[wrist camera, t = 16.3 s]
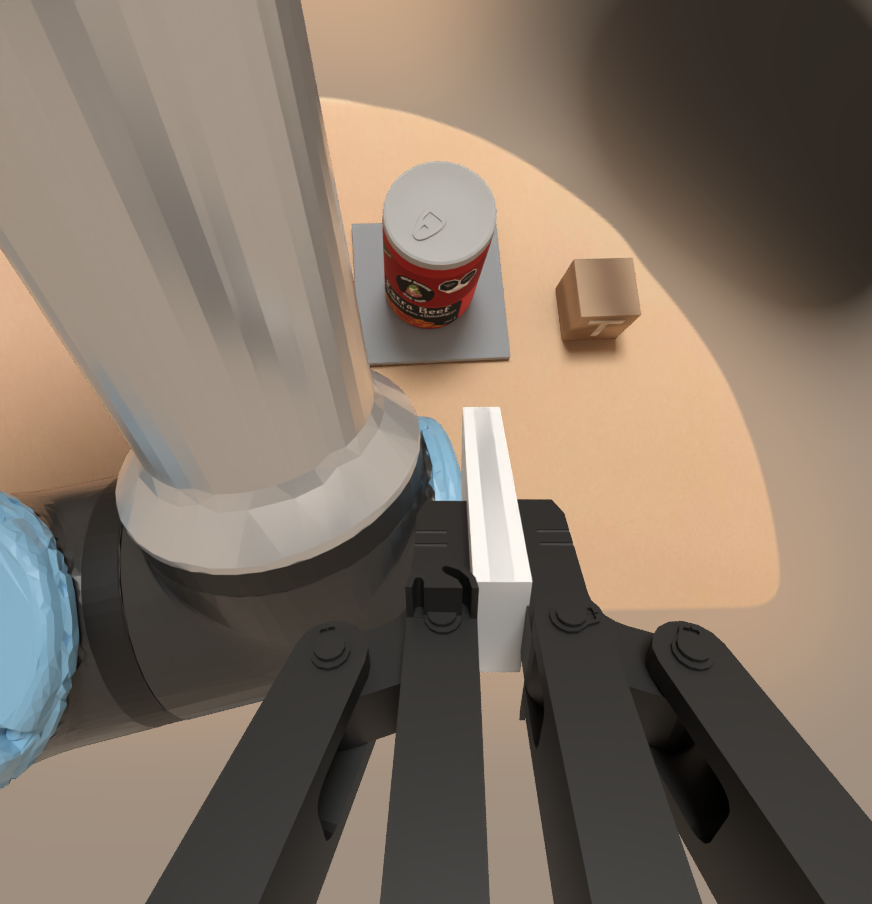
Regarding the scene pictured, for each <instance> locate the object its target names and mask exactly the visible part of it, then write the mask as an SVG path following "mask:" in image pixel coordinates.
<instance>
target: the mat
mask: <svg viewBox="0 0 872 904" xmlns="http://www.w3.org/2000/svg"><path fill="white" fill-rule="evenodd" d="M382 228H383V223H372V224H352V237H353V256H354V274H355V291H356V296H357V302H358V307H359V312H360V317H361V323H362V328H363V333H364V339H365V344H366V349H367V355H368V360H369V365H370V366H374V365H395V364H416V363H437V362H458V361H479V360H500V359H509V358H510V348H509V339H508V330H507V320H506V311H505V302H504V292H503V283H502V274H501V264H500V255H499V246H498V236H497V227H496V226H495V230H494V234H493V237H492V241H491V244H490V247H489V250H488V253H487V256H486V259H485V262H484V265H483V268H482V271H481V274H480V277H479V280H478V283H477V286H476V289H475V292H474V295H473V298H472V300H471V303H470V305H469V307H468V308H467V309H466V311H465V312H464V313H463V314H462V315H461V316H460V317H459V318H458V319H456V320H455V321H453V322H451V323H450V324H448V325H446V326H443V327H440V328H434V329H423V328H418V327H415V326H412V325H410V324H408V323H406V322H405V321H403V320H402V319H401V318H400V317H399V316H398V315H397V314H396V313H395V312H394V311H393V309H392V308H391V306H390V305H389V302H388V300H387V297H386V292H385V280H384V256H383V231H382Z"/></svg>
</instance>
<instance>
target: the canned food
mask: <svg viewBox="0 0 872 904" xmlns="http://www.w3.org/2000/svg"><path fill="white" fill-rule="evenodd" d="M496 214H497V209H496V204H495V199H494V197H493V195H492V192H491V190H490V189H489V187H488V186H487V184H486V183H485V181H484V180H483V179H482V178H481V177H479V176H478V175H477V174H476V173H475V172H473V171H471V170H470V169H468V168H466V167H464V166H462V165H459V164H455V163H451V162H443V161H435V162H427V163H423V164H420V165H417V166H415V167H413V168H411V169H409V170H407V171H406V172H404V173H403V174H402V175H401V176H399V177H398V178H397V180H396V181H395V182H394V183H393V184H392V186H391V187H390V189H389V191H388V193H387V195H386V199H385V202H384V208H383V219H382V222H383V228H382V231H383V256H384V280H385V292H386V297H387V300H388V302H389V305H390V306H391V308H392V309H393V311H394V312H395V313H396V314H397V315H398V316H399V317H400V318H401V319H402V320H403V321H405V322H406V323H408V324H410V325H412V326H415V327H418V328H423V329H434V328H440V327H443V326H446V325H448V324H450V323H451V322H453V321H455V320H456V319H458V318H459V317H460V316H461V315H462V314H463V313H464V312H465V311H466V309H467V308H468V307H469V305H470V303H471V300H472V298H473V295H474V292H475V289H476V286H477V283H478V280H479V277H480V274H481V271H482V268H483V265H484V262H485V259H486V256H487V253H488V250H489V247H490V244H491V241H492V237H493V234H494V230H495V226H496Z"/></svg>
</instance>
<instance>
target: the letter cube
mask: <svg viewBox="0 0 872 904" xmlns="http://www.w3.org/2000/svg"><path fill="white" fill-rule="evenodd" d="M556 297H557V305H558V313H559V322H560V330H561V338H562V340H588V339H613V338H617V337H618V336H619V335H620V334H621V333H622V332H623V331H624V330H625V329H626V328H627V327H628V326H630V325H631V324H632V323H633V322H634V321H635V320H636V319H637V318H638V317H639V316H640V315H641V310H640V304H639V297H638V290H637V284H636V277H635V270H634V263H633V258H609V259H574V260H573V262H572V263H571V265H570V266H569V268H568V270H567V271H566V273H565V274H564V276H563V278H562V279H561V281H560V282H559V284H558V285H557V287H556Z"/></svg>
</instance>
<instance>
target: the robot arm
mask: <svg viewBox="0 0 872 904" xmlns="http://www.w3.org/2000/svg"><path fill="white" fill-rule="evenodd" d="M0 248H1V250H2V251H3V253H4V254H5V256H6V257H7V259H8V261H9V262H10V264H11V265H12V267H13V268H14V270H15V271H16V273H17V274H18V276H19V277H20V279H21V280H22V282H23V284H24V285H25V287H26V288H27V290H28V291H29V293H30V294H31V296H32V297H33V299H34V300H35V302H36V303H37V305H38V307H39V308H40V310H41V311H42V313H43V314H44V316H45V317H46V319H47V320H48V322H49V323H50V325H51V327H52V328H53V330H54V331H55V333H56V334H57V336H58V337H59V339H60V340H61V342H62V343H63V345H64V346H65V348H66V350H67V351H68V353H69V354H70V356H71V357H72V359H73V360H74V362H75V363H76V365H77V366H78V368H79V369H80V371H81V373H82V374H83V376H84V377H85V379H86V380H87V382H88V383H89V385H90V386H91V388H92V389H93V391H94V392H95V394H96V396H97V397H98V399H99V400H100V402H101V403H102V405H103V406H104V408H105V409H106V411H107V412H108V414H109V416H110V417H111V419H112V420H113V422H114V423H115V425H116V426H117V428H118V429H119V431H120V432H121V434H122V435H123V437H124V439H125V440H126V442H127V443H128V445H129V446H130V450H129V452H128V454H127V456H126V458H125V460H124V462H123V464H122V467H121V470H120V472H119V475H118V476H116V477H111V478H106V479H101V480H96V481H91V482H86V483H81V484H76V485H71V486H66V487H61V488H55V489H50V490H44V491H37V492H27V493H6V492H1V491H0V789H1V788H4V787H5V786H7V785H8V784H9V783H10V781H11V779H16V778H17V777H19V776H20V775H21V774H22V773H23V772H24V771H25V770H26V769H27V768H29V767H30V766H31V765H32V764H34V763H37V762H39V761H41V760H44V759H46V758H49V757H51V756H54V755H57V754H59V753H62V752H65V751H68V750H72V749H75V748H78V747H82V746H86V745H90V744H94V743H98V742H102V741H106V740H110V739H113V738H117V737H121V736H125V735H128V734H132V733H137V732H141V731H144V730H148V729H152V728H156V727H160V726H163V725H166V724H171V723H174V722H178V721H182V720H186V719H187V720H188V719H192V718H197V717H201V716H205V715H209V714H212V713H216V712H221V711H224V710H228V709H232V708H236V707H240V706H244V705H248V704H252V703H256V702H260V701H263V702H262V704H261V706H260V707H259V709H258V710H257V712H256V714H255V716H254V717H253V719H252V721H251V723H250V724H249V726H248V728H247V729H246V731H245V733H244V735H243V736H242V738H241V740H240V741H239V743H238V745H237V747H236V748H235V750H234V752H233V753H232V755H231V757H230V759H229V761H228V762H227V764H226V766H225V767H224V769H223V771H222V772H221V774H220V776H219V778H218V779H217V781H216V783H215V785H214V786H213V788H212V790H211V791H210V793H209V795H208V797H207V798H206V800H205V802H204V804H203V805H202V807H201V809H200V810H199V812H198V814H197V816H196V817H195V819H194V821H193V823H192V824H191V826H190V827H189V829H188V831H187V833H186V834H185V836H184V838H183V840H182V841H181V843H180V845H179V847H178V848H177V850H176V852H175V853H174V855H173V857H172V859H171V860H170V862H169V864H168V866H167V867H166V869H165V871H164V872H163V874H162V876H161V877H160V879H159V881H158V883H157V884H156V886H155V888H154V889H153V891H152V893H151V895H150V896H149V898H148V900H147V902H146V903H145V904H316V902H317V900H318V897H319V894H320V891H321V889H322V886H323V883H324V880H325V878H326V875H327V872H328V870H329V867H330V864H331V861H332V858H333V856H334V853H335V850H336V848H337V845H338V842H339V840H340V837H341V834H342V831H343V829H344V826H345V823H346V820H347V818H348V815H349V812H350V810H351V807H352V804H353V802H354V799H355V796H356V793H357V791H358V788H359V785H360V782H361V780H362V777H363V774H364V771H365V769H366V766H367V763H368V760H369V758H370V755H371V752H372V750H373V747H374V744H375V741H376V739H379V738H382V737H385V736H388V735H391V734H394V733H396V739H395V749H394V760H393V770H392V781H391V791H390V802H389V814H388V823H387V834H386V845H385V855H384V866H383V877H382V888H381V898H380V904H490V898H489V875H488V852H487V829H486V806H485V783H484V761H483V738H482V714H481V691H480V672H520V667H521V661H522V666H523V673H524V687H523V694H522V700H521V707H520V720H525V718H526V724H527V731H528V737H529V743H530V750H531V757H532V763H533V770H534V776H535V783H536V790H537V796H538V803H539V809H540V816H541V822H542V829H543V835H544V842H545V849H546V855H547V861H548V868H549V875H550V881H551V888H552V894H553V900H554V904H702V902H701V898H700V895H699V892H698V889H697V886H696V884H695V880H694V878H693V875H692V872H691V869H690V866H689V863H688V860H687V857H686V854H685V851H684V848H683V845H682V842H681V839H680V836H681V838H682V840H683V842H684V843H685V845H686V847H687V849H688V851H689V852H690V854H691V856H692V858H693V860H694V861H695V863H696V865H697V867H698V869H699V871H700V872H701V874H702V876H703V878H704V880H705V881H706V883H707V885H708V887H709V889H710V891H711V893H712V894H713V896H714V898H715V899H716V901H717V903H718V904H872V821H871V820H870V819H869V818H868V816H867V815H866V814H865V813H864V812H863V810H862V809H861V808H860V807H859V805H858V804H857V803H856V802H855V801H854V799H853V798H852V797H851V796H850V795H849V793H848V792H847V791H846V790H845V789H844V787H843V786H842V785H841V784H840V783H839V781H838V780H837V779H836V778H835V777H834V775H833V774H832V773H831V772H830V771H829V769H828V768H827V767H826V766H825V764H824V763H823V762H822V761H821V760H820V759H819V757H818V756H817V755H816V754H815V752H814V751H813V750H812V749H811V748H810V746H809V745H808V744H807V743H806V742H805V741H804V739H803V738H802V737H801V736H800V734H799V733H798V732H797V731H796V730H795V728H794V727H793V726H792V725H791V724H790V722H789V721H788V720H787V719H786V718H785V716H784V715H783V714H782V713H781V712H780V710H779V709H778V708H777V707H776V706H775V704H774V703H773V702H772V701H771V699H770V698H769V697H768V696H767V695H766V693H765V692H764V691H763V690H762V689H761V687H760V686H759V685H758V684H757V683H756V682H755V680H754V679H753V678H752V677H751V675H750V674H749V673H748V672H747V671H746V670H745V668H744V667H743V666H742V665H741V663H740V662H739V661H738V660H737V658H736V657H735V656H734V655H733V654H732V652H731V651H730V650H729V649H728V648H727V647H726V645H725V644H724V643H723V642H722V641H721V640H720V639H718V638H717V637H716V636H715V635H714V634H713V633H712V632H710V631H708V630H706V629H704V628H702V627H701V626H699V625H696V624H692V623H688V622H684V621H675V622H667V623H665V624H663V625H662V626H659V627H658V628H657V630H656V631H655V633H651V632H647V631H644V630H640V629H636V628H633V627H629V626H626V625H623V624H620V623H618V622H615V621H614V620H612V619H610V618H609V617H607V616H605V615H604V614H603V613H602V611H601V609H600V608H599V607H598V606H597V605H596V604H595V603H594V602H593V601H591V599H590V597H589V594H588V592H587V588H586V585H585V582H584V578H583V575H582V572H581V568H580V565H579V561H578V558H577V555H576V551H575V548H574V546H573V541H572V538H571V534H570V532H569V528H568V524H567V521H566V518H565V514H564V513H563V511H562V510H561V509H560V508H559V507H558V506H557V505H556V504H555V503H554V502H553V501H552V500H528V499H517V497H516V492H515V486H514V481H513V476H512V470H511V465H510V460H509V454H508V449H507V444H506V438H505V433H504V427H503V422H502V417H501V411H500V407H463V424H462V464H461V471H460V467H459V464H458V460H457V457H456V455H455V452H454V449H453V447H452V444H451V442H450V439H449V437H448V435H447V433H446V431H445V430H444V428H443V427H442V426H441V424H439V423H438V422H437V421H436V420H434V419H432V418H429V417H418V416H417V414H416V411H415V409H414V406H413V405H412V403H411V402H410V400H409V399H408V397H407V396H406V394H405V393H404V392H403V391H402V390H401V389H400V388H399V387H398V386H397V385H396V384H394V383H393V382H392V381H391V380H389V379H388V378H386V377H384V376H383V375H381V374H379V373H377V372H375V371H373V370H371V369H370V365H369V360H368V355H367V349H366V344H365V339H364V333H363V328H362V323H361V317H360V312H359V307H358V302H357V296H356V291H355V286H354V280H353V275H352V270H351V264H350V259H349V254H348V248H347V243H346V238H345V233H344V227H343V222H342V217H341V211H340V206H339V201H338V195H337V190H336V185H335V180H334V174H333V169H332V164H331V158H330V153H329V148H328V142H327V137H326V132H325V126H324V121H323V116H322V111H321V105H320V100H319V95H318V90H317V84H316V80H315V73H314V69H313V63H312V58H311V52H310V47H309V42H308V37H307V32H306V26H305V20H304V15H303V10H302V5H301V0H0ZM679 834H680V836H679Z"/></svg>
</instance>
